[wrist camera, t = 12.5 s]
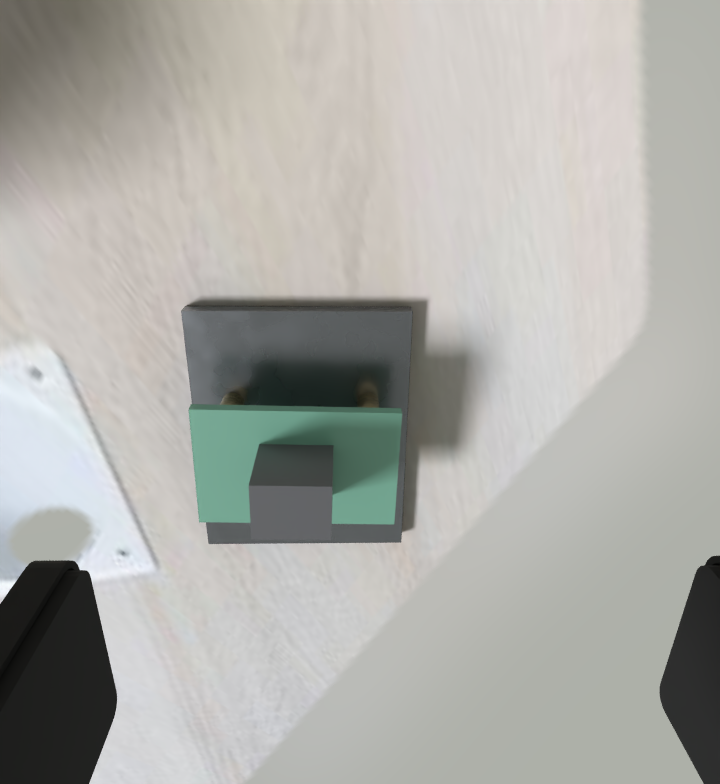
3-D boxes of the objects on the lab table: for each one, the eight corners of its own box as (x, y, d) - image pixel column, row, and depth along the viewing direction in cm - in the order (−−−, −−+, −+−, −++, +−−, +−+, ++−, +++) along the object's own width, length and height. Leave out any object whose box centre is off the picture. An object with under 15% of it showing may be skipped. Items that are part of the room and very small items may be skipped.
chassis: (185, 306, 42) (165, 329, 37) (410, 306, 43) (419, 330, 38) (211, 534, 50) (197, 577, 46) (399, 533, 51) (405, 575, 46)
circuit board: (201, 515, 43) (182, 570, 38) (191, 404, 40) (168, 448, 34) (393, 517, 44) (400, 572, 39) (401, 408, 40) (409, 451, 35)
